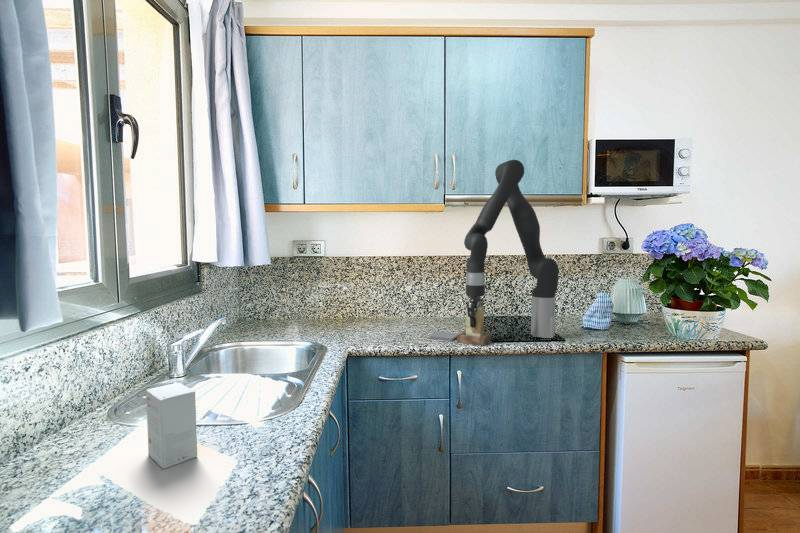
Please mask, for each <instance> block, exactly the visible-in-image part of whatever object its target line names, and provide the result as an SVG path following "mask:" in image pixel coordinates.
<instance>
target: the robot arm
mask: <svg viewBox="0 0 800 533" xmlns="http://www.w3.org/2000/svg"><path fill="white" fill-rule="evenodd" d="M494 174H495V175H494V176H495V179H496V180H495V181H496V182H497V183H498V184H497V187H496V189H495V191H494V192H493V193H492V194H491V196H490V197H489V198H488V200H487V201H486V202H485V203H484V205H483V207H482V208H481V210H480V212H479V214H478V217H477V220H476V221H475V223H473V225H472V226H471V227H470V229H469V230H468V232H467V233H466V235H465V237H464V242H463V243H464V247H465V249H467V251H470V256H469V257H468V258H467V260H466V276H465V295H466V296H469V300H468V302H467V303H466V312H467V311H468V317H470V327H476V313H477V312H478V306H483V305H484V298H481V297H483V296H485V295H486V275H485V260H486V258H487V253H488V245H489V243H488V239H487V237H486V235H487V233H488V232H490V231H492V230H493V228H494V226H495V224H496V222H497V219H498V218H499V216H500V214H501V212H502V210H503V209H504V207H505V205H507V207H508V210H509V212H510V215H511V217H512V221H513V224H514V227H515V229H516V233H517V234H518V237H519V240H520V243H521V246H522V248H523V251H524V254H525V258H526V262H527V266H528V267H527V268H528V270H529V273H530V275H531V276H532V277H533V278H534V279H536V285H535V287H534V288H532V290H531V314H530V315H531V316H530V318H531V319H530V336H531V335H533V336H537V337H542V338H553V337H554V336H555V337H556V311H555V310H556V292H557V290H558V287H559V286H558V285H559V274H560V273H559V272H560V271H559V270H560V269H559V266H558V263H557V262H556V260H555V259H552V258H548V257H545V255H544V252H543V250H542V247H541V246H542V245H541V243H540V242H541V239H540V236H541V228H540V227H541V226H540V222H539V220H538V216H537V214H536V211H535V209H534V208H533V206H532V205H531V204H530V203H529V201H528V200H527V199H526V197H525V196H524V194H523V193H522V191H521V189H520V186H519V183H520V182H521V180H522V179H523V177H524V175H525V166H524V164H523V163H522V161H520V160H518V159H509V160H507V161H504V162H502V163H500V164H498V165H497V167H496V168H495V173H494ZM475 308H476V310H474V309H475ZM555 337H554V338H555Z"/></svg>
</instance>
